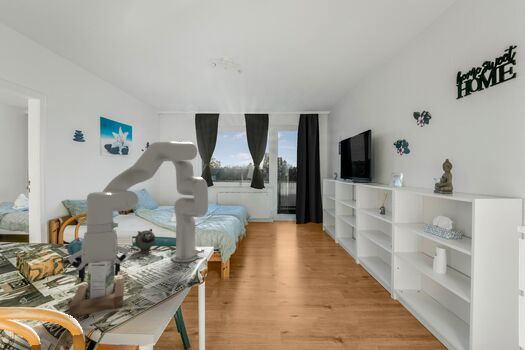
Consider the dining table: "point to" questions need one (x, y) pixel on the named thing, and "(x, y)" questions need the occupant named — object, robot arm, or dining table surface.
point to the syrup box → (100, 278)
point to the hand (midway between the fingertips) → (100, 276)
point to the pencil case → (75, 246)
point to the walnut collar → (96, 300)
